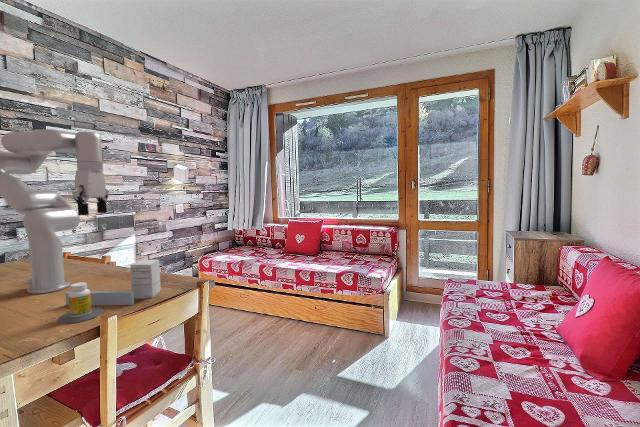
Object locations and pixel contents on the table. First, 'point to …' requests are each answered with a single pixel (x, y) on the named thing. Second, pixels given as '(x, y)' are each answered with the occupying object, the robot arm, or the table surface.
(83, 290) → the supplement bottle
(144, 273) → the supplement box
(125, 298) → the acrylic wall
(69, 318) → the mat
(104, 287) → the table surface
